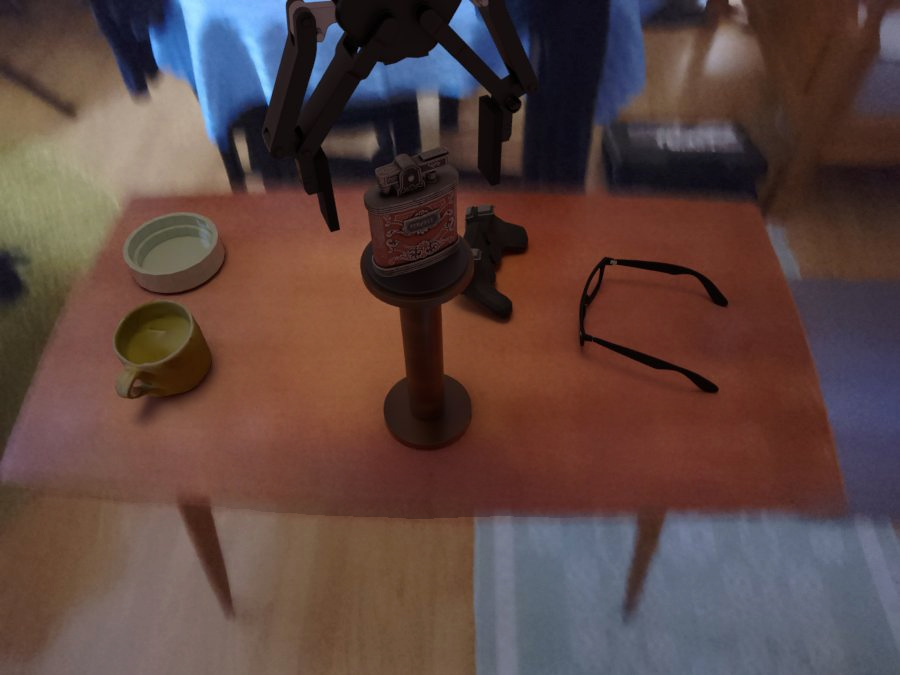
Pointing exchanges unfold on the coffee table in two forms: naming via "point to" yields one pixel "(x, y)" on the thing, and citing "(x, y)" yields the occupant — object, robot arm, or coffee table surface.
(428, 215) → the lighter
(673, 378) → the coffee table surface
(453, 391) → the stand
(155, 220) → the bowl
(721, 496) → the coffee table surface
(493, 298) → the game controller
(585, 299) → the glasses
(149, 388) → the mug
